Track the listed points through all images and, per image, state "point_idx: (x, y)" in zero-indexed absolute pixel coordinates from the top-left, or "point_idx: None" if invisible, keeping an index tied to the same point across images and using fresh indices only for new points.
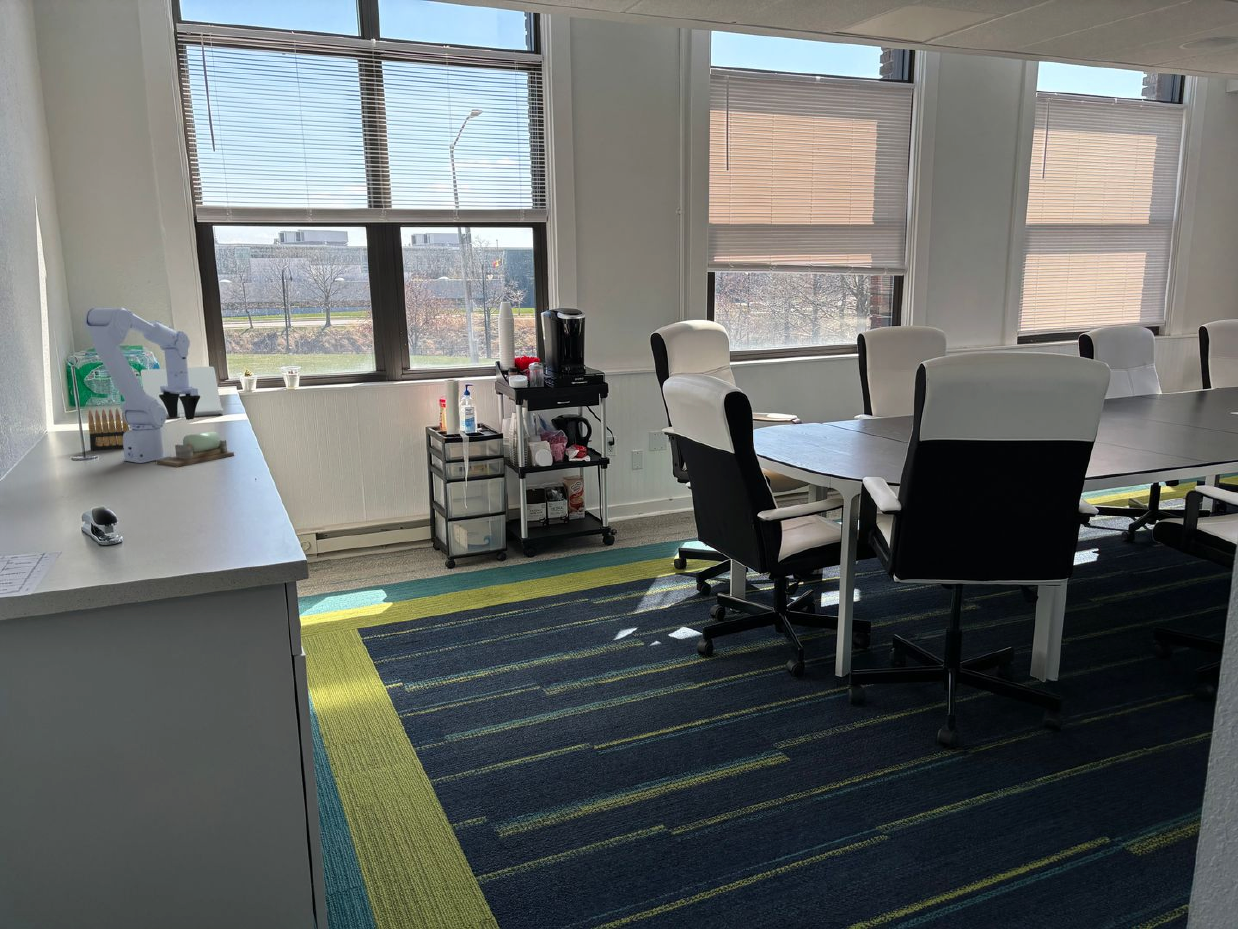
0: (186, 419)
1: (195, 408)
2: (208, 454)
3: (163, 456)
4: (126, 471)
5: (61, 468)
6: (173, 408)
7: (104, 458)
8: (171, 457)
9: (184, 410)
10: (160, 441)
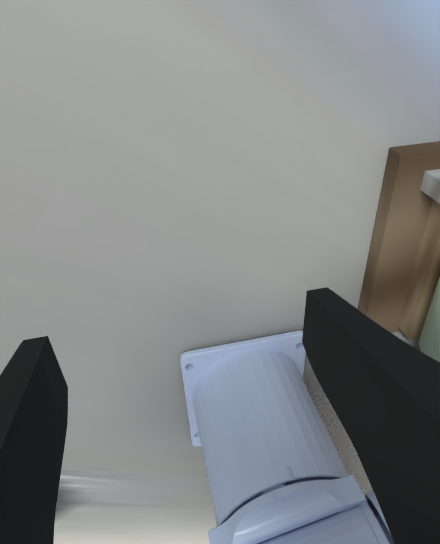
0: (304, 343)
1: (415, 350)
2: None
3: (289, 355)
4: (351, 457)
5: (151, 541)
6: (38, 448)
7: (80, 466)
8: None
9: (349, 428)
10: (321, 419)
